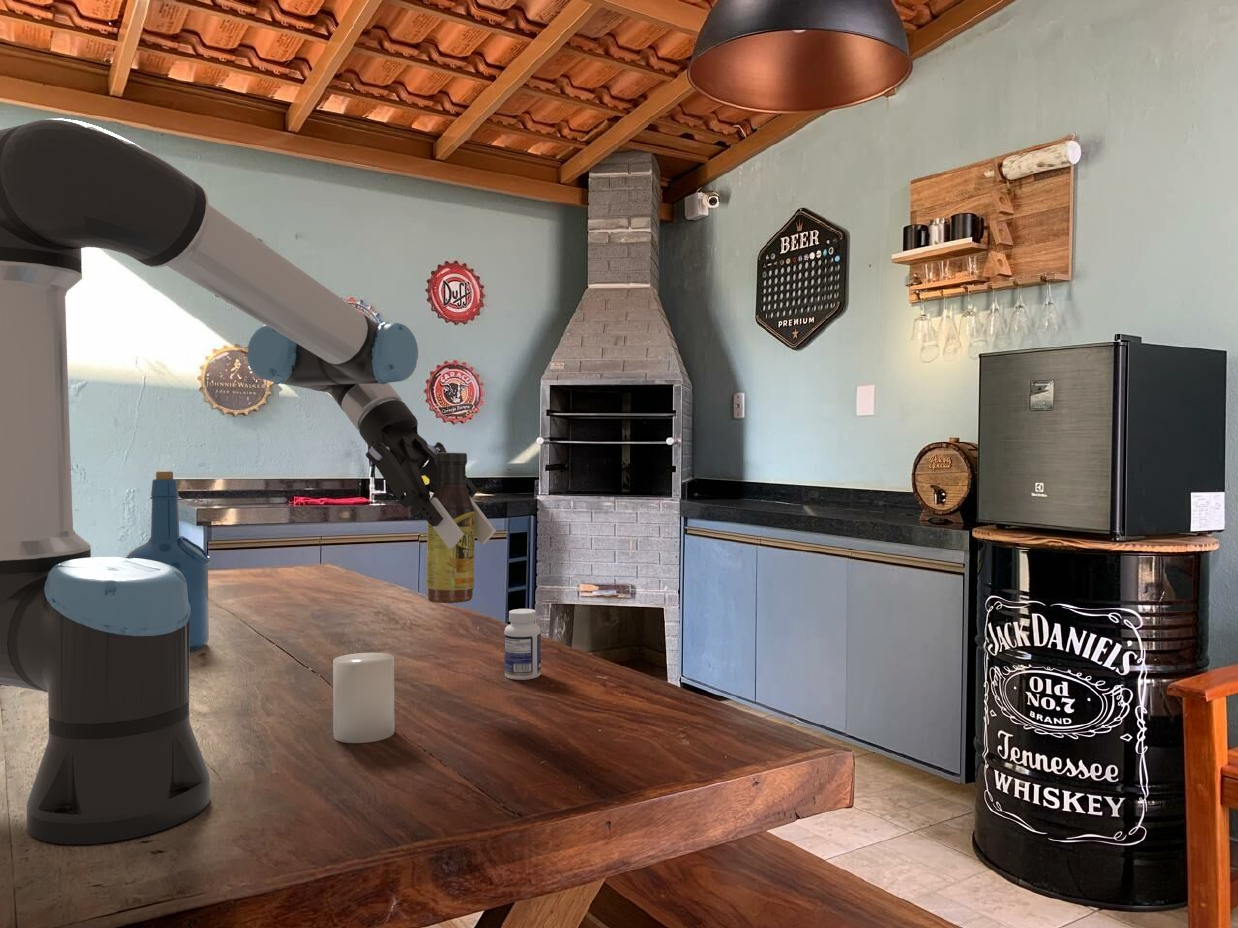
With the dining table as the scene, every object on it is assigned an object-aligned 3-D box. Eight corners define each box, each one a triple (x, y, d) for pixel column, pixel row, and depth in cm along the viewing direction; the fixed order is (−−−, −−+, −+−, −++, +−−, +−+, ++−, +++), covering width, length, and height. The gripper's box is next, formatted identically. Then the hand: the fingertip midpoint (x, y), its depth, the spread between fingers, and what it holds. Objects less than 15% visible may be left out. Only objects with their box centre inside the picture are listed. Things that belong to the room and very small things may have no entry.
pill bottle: (522, 669, 143) (522, 606, 143) (548, 675, 139) (548, 610, 139) (496, 676, 139) (496, 611, 138) (522, 682, 135) (522, 615, 135)
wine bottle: (112, 660, 149) (110, 472, 148) (132, 643, 162) (130, 470, 161) (205, 654, 153) (203, 471, 152) (217, 638, 165) (215, 469, 165)
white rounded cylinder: (402, 736, 110) (401, 660, 110) (342, 746, 106) (342, 667, 106) (384, 722, 116) (383, 650, 116) (326, 731, 112) (326, 656, 112)
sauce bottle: (463, 606, 121) (464, 452, 120) (418, 604, 122) (418, 452, 122) (481, 597, 127) (481, 452, 127) (438, 596, 128) (438, 452, 128)
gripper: (413, 437, 140) (500, 552, 132) (314, 434, 124) (407, 565, 116) (440, 401, 138) (531, 516, 130) (343, 393, 121) (441, 524, 113)
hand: (472, 539), depth 123 cm, fingers closed on sauce bottle, 6 cm apart
